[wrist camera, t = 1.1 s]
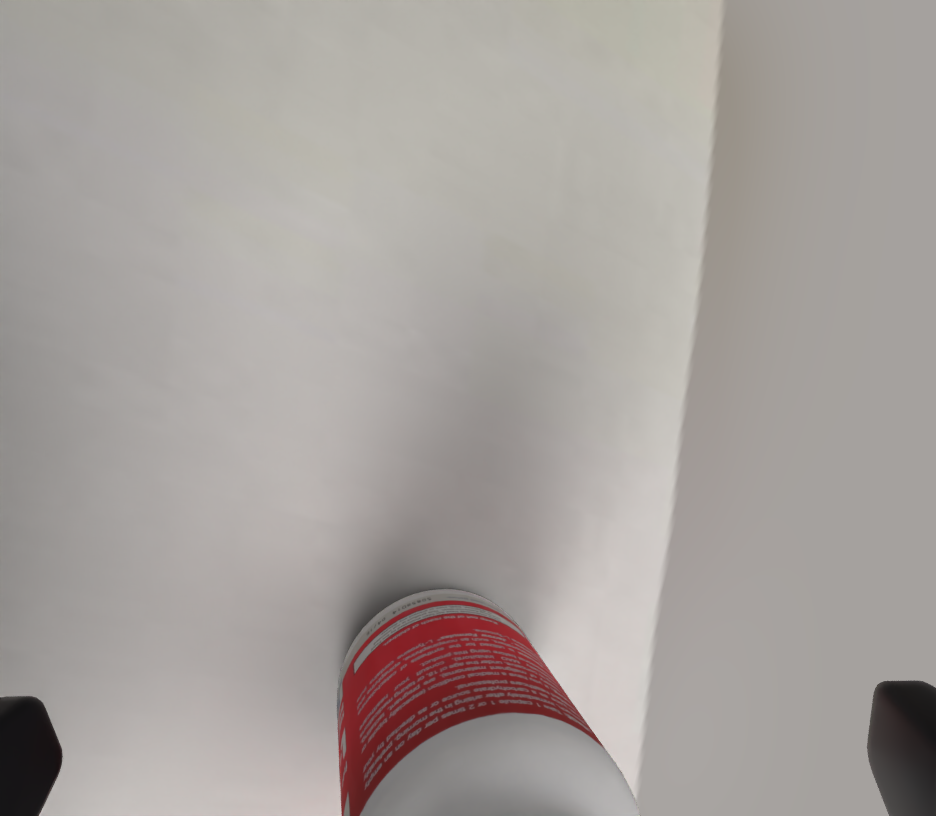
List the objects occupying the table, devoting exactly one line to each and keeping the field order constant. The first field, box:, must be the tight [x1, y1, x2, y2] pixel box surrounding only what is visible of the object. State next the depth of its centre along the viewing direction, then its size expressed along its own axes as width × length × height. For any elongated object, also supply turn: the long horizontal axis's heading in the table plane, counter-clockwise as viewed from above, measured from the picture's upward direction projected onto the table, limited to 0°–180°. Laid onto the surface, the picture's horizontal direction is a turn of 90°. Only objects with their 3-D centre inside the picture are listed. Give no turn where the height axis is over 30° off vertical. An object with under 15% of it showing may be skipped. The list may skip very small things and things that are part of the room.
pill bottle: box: [337, 589, 640, 816], centre depth 16 cm, size 6×6×11 cm
